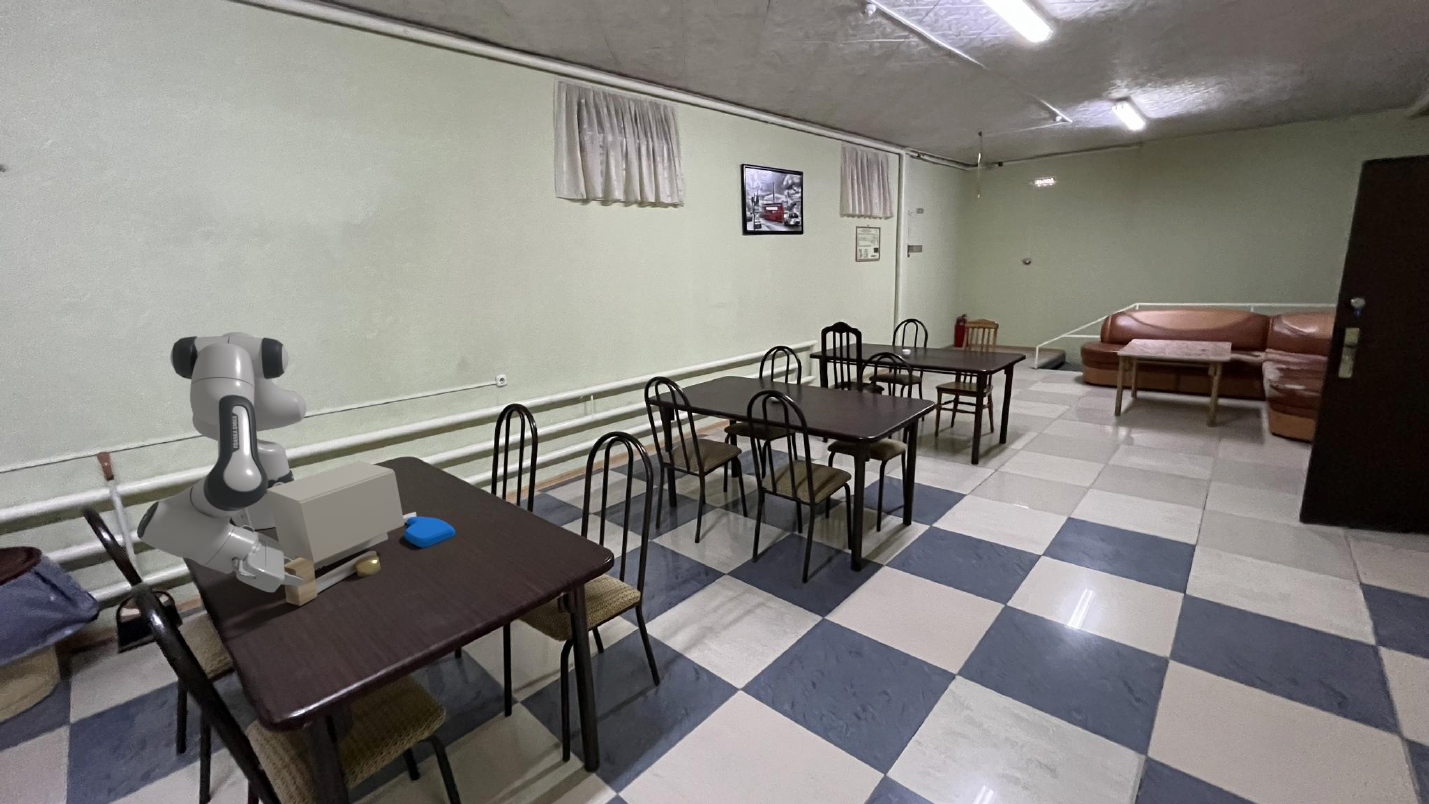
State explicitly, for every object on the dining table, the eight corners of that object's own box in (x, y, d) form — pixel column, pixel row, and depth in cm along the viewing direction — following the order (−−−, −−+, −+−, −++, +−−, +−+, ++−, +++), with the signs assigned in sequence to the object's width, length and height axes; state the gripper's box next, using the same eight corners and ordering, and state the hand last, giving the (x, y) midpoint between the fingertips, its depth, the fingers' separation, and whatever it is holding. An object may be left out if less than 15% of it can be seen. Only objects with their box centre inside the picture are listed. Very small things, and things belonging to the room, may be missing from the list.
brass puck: (352, 574, 139) (350, 563, 138) (371, 564, 143) (369, 553, 142) (366, 578, 137) (363, 567, 136) (385, 568, 141) (383, 557, 140)
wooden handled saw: (286, 601, 126) (281, 566, 124) (368, 557, 146) (365, 525, 144) (300, 606, 125) (295, 569, 123) (380, 560, 145) (377, 529, 142)
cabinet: (286, 570, 142) (266, 489, 136) (374, 533, 160) (359, 460, 155) (319, 587, 133) (299, 501, 128) (408, 546, 152) (394, 469, 146)
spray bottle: (458, 526, 157) (420, 506, 172) (417, 541, 149) (382, 518, 164) (459, 536, 157) (422, 515, 173) (419, 551, 149) (384, 528, 165)
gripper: (243, 556, 111) (313, 582, 119) (246, 522, 127) (308, 547, 135) (219, 585, 109) (291, 609, 117) (225, 546, 125) (289, 570, 133)
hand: (300, 576), depth 126 cm, fingers closed on wooden handled saw, 6 cm apart
